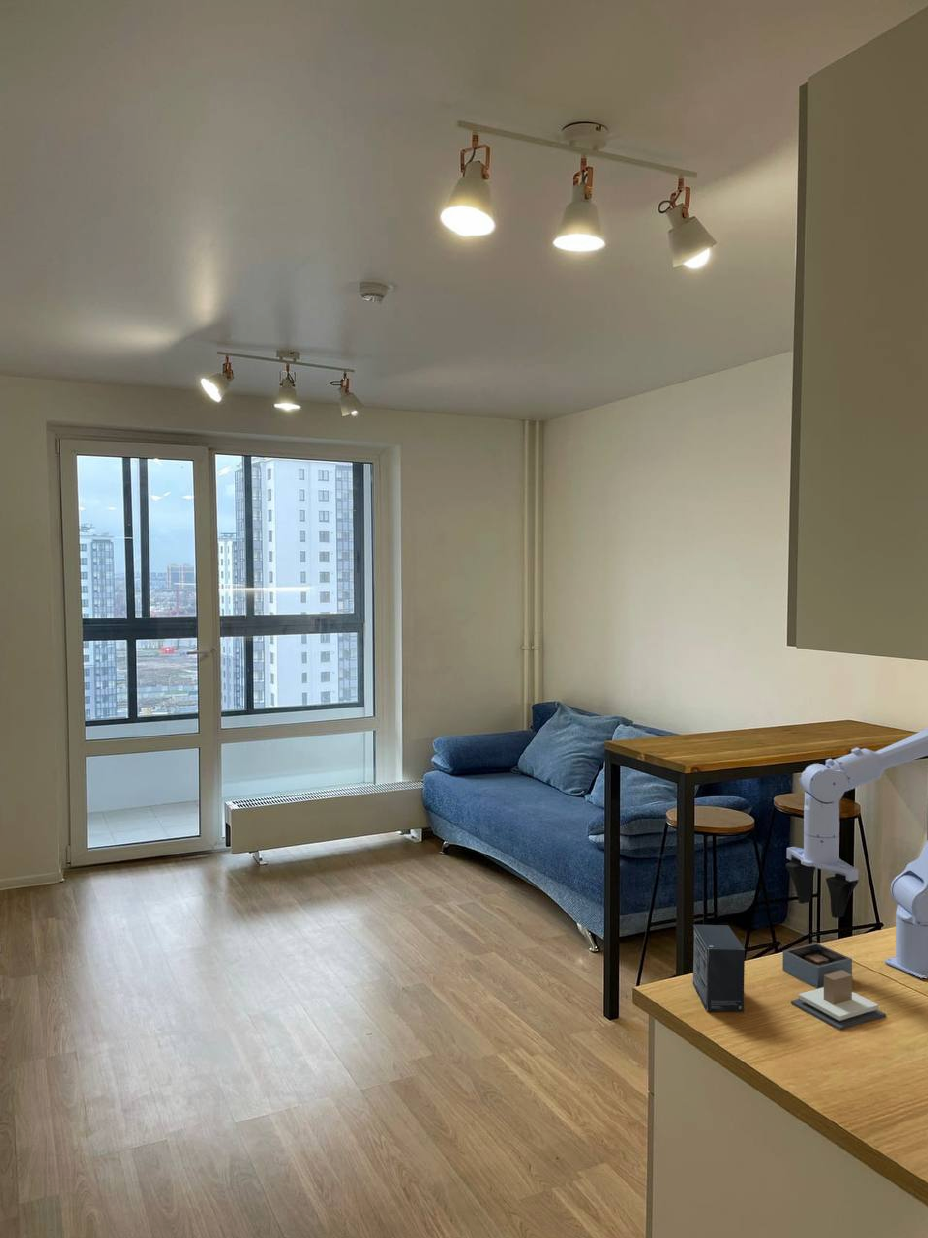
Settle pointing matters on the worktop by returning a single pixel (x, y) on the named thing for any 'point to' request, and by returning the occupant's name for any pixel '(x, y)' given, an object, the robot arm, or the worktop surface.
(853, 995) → the lid
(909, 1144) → the worktop surface
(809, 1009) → the mat
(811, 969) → the tin
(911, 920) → the robot arm
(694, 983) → the small box
